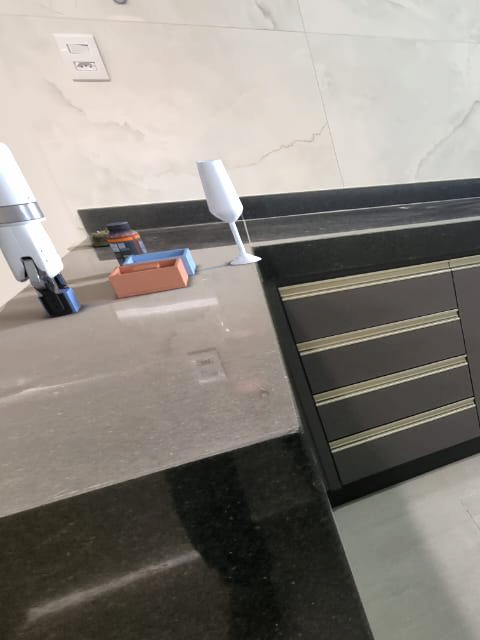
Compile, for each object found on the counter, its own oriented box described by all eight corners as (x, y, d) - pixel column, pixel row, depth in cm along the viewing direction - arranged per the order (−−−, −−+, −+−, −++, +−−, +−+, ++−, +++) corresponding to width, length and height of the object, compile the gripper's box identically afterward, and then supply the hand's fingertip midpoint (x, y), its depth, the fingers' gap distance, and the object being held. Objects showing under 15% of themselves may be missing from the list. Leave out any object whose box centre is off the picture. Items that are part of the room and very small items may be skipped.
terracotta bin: (118, 298, 109) (107, 276, 107) (125, 287, 116) (115, 266, 114) (186, 286, 115) (177, 266, 113) (188, 276, 122) (180, 257, 120)
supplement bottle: (149, 264, 134) (129, 219, 130) (157, 267, 131) (136, 221, 126) (119, 270, 130) (97, 224, 125) (126, 274, 127) (104, 226, 122)
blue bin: (131, 284, 118) (122, 264, 116) (137, 275, 125) (128, 256, 123) (194, 274, 124) (185, 255, 122) (195, 266, 131) (188, 247, 129)
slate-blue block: (48, 317, 100) (37, 297, 98) (53, 311, 103) (42, 292, 101) (77, 312, 102) (66, 292, 100) (81, 306, 105) (71, 287, 103)
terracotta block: (141, 288, 113) (132, 270, 111) (143, 284, 116) (135, 266, 114) (165, 284, 115) (157, 266, 113) (166, 280, 118) (158, 263, 116)
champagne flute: (258, 256, 138) (222, 158, 128) (264, 260, 134) (228, 159, 123) (227, 261, 134) (188, 161, 124) (232, 266, 130) (192, 162, 119)
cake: (101, 249, 157) (90, 232, 154) (90, 247, 162) (79, 229, 159) (141, 239, 164) (131, 222, 161) (129, 237, 169) (119, 220, 166)
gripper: (-3, 212, 98) (48, 304, 106) (-36, 225, 86) (26, 328, 94) (52, 207, 102) (98, 296, 110) (29, 218, 90) (82, 318, 98)
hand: (64, 310), depth 102 cm, fingers closed on slate-blue block, 4 cm apart
